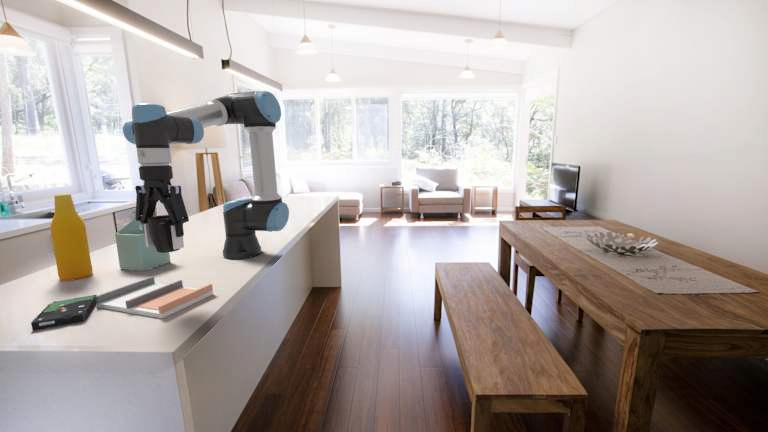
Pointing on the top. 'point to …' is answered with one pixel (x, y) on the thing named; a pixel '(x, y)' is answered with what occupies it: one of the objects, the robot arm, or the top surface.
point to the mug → (161, 233)
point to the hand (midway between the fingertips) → (165, 247)
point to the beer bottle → (70, 240)
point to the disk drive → (64, 312)
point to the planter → (137, 249)
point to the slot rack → (152, 298)
